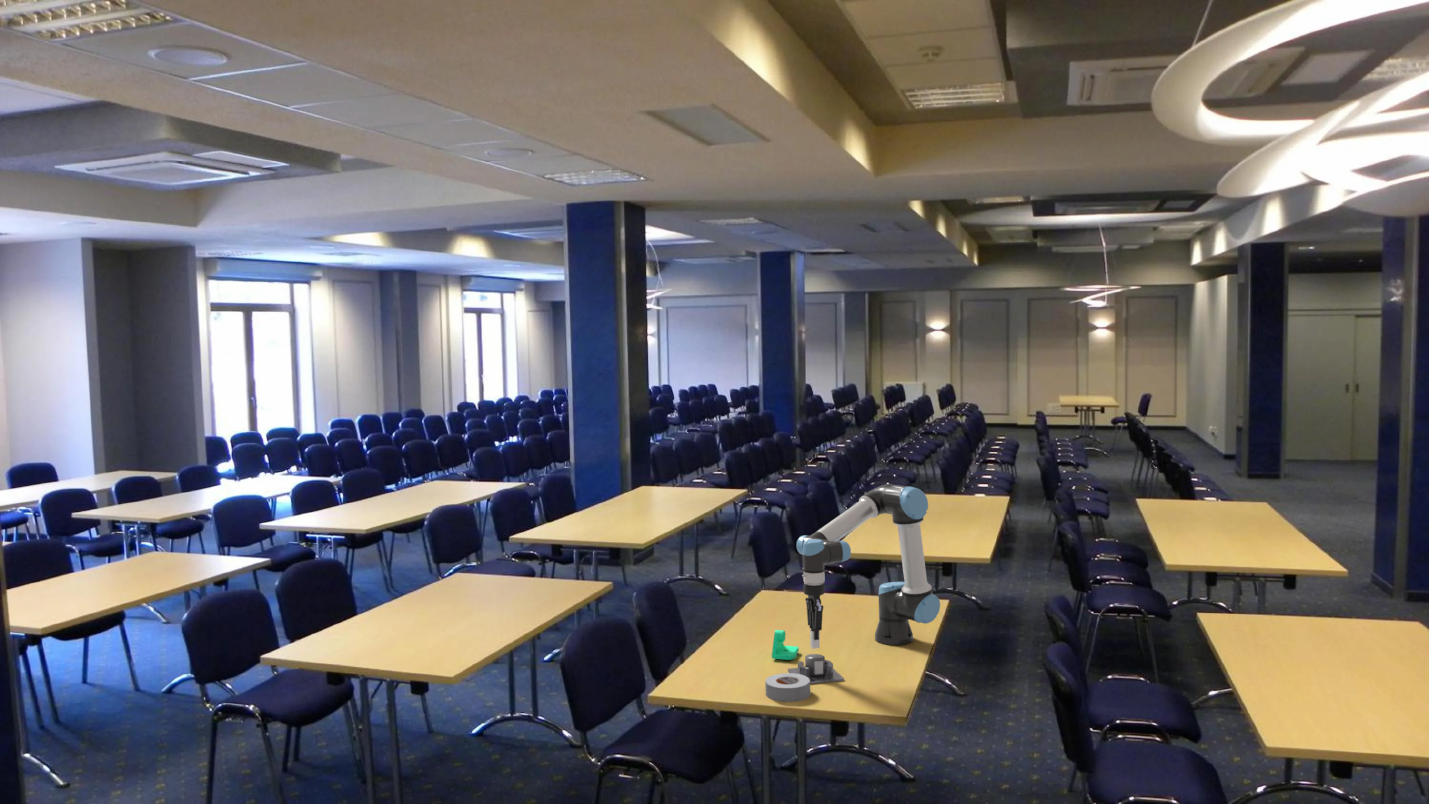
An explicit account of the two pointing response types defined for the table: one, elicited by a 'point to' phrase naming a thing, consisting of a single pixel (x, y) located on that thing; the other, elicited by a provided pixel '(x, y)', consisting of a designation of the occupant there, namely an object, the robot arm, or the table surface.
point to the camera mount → (782, 647)
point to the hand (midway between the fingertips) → (815, 647)
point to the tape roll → (787, 687)
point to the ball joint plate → (827, 677)
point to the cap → (815, 664)
